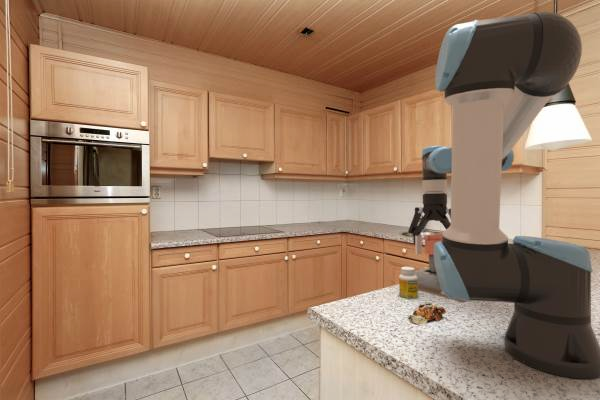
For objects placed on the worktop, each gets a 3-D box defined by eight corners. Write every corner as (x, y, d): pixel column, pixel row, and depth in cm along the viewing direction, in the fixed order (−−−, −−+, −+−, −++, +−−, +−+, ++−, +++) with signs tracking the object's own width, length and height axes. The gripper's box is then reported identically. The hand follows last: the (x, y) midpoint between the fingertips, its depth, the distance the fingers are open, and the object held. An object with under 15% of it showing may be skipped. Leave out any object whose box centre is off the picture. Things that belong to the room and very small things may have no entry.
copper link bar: (432, 291, 98) (431, 235, 98) (419, 287, 102) (419, 234, 101) (451, 284, 104) (450, 232, 104) (438, 281, 108) (438, 231, 108)
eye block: (441, 292, 96) (441, 277, 96) (413, 285, 104) (413, 270, 104) (458, 286, 102) (458, 272, 101) (430, 280, 110) (430, 266, 110)
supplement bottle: (408, 295, 98) (407, 265, 97) (421, 300, 93) (421, 268, 93) (395, 297, 95) (395, 267, 95) (408, 303, 90) (408, 271, 90)
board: (463, 306, 87) (463, 302, 87) (406, 289, 103) (406, 286, 103) (490, 294, 96) (489, 291, 96) (434, 281, 112) (434, 278, 112)
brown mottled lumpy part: (403, 322, 79) (403, 308, 79) (424, 309, 87) (423, 297, 87) (430, 330, 74) (430, 315, 73) (449, 316, 82) (449, 303, 82)
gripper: (477, 192, 94) (478, 261, 95) (410, 193, 114) (411, 250, 115) (465, 192, 90) (465, 265, 91) (397, 193, 110) (398, 252, 111)
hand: (435, 256), depth 103 cm, fingers open, 12 cm apart
